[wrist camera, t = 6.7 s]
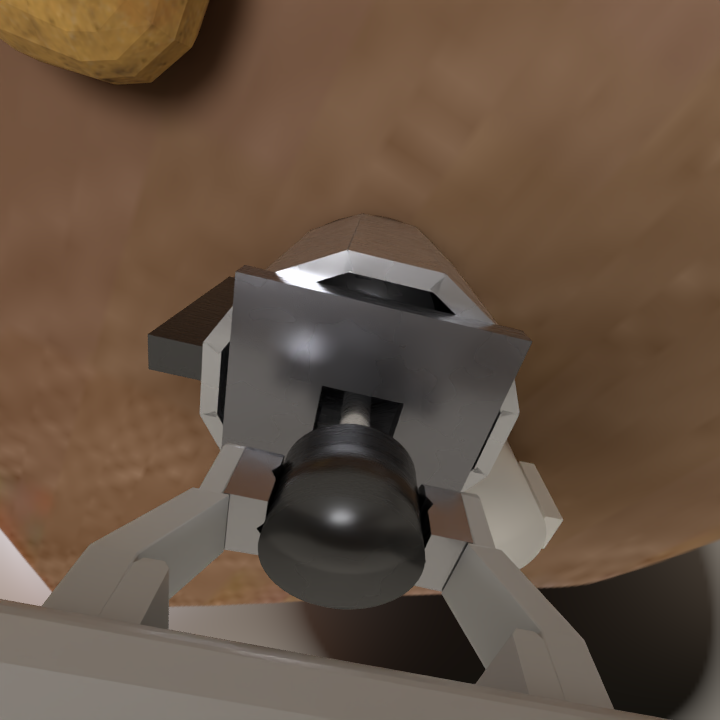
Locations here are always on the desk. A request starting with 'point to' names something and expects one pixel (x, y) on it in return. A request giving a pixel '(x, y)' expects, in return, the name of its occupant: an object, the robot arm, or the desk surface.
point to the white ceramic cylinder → (517, 507)
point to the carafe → (352, 351)
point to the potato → (104, 34)
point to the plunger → (347, 501)
